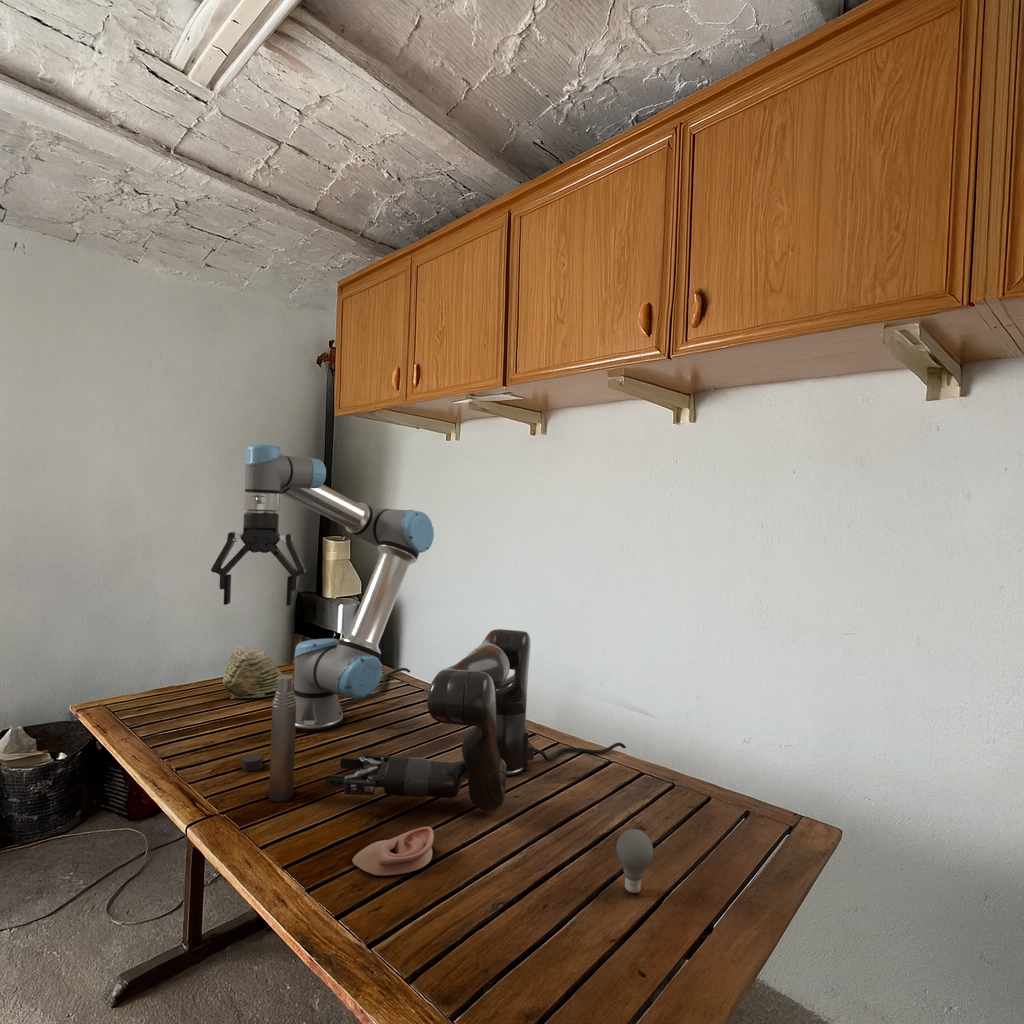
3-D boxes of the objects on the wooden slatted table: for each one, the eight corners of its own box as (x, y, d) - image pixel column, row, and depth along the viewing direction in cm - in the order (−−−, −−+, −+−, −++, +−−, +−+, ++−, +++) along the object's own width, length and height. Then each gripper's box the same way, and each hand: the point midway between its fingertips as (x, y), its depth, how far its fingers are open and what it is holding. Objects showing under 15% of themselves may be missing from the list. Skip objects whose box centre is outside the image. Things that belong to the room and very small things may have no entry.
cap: (238, 770, 144) (238, 760, 144) (248, 762, 149) (248, 753, 149) (256, 772, 144) (256, 762, 144) (265, 764, 148) (266, 754, 148)
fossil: (218, 695, 195) (220, 647, 195) (278, 685, 208) (279, 640, 207) (228, 703, 189) (230, 653, 188) (289, 692, 201) (290, 645, 201)
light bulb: (610, 879, 108) (613, 822, 108) (644, 879, 109) (647, 822, 109) (619, 902, 102) (622, 840, 102) (655, 901, 103) (658, 840, 103)
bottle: (263, 798, 132) (268, 677, 132) (280, 789, 136) (284, 672, 136) (281, 803, 130) (286, 680, 130) (297, 793, 135) (302, 675, 134)
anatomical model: (344, 847, 108) (373, 814, 119) (343, 870, 108) (372, 835, 119) (418, 859, 105) (440, 825, 116) (417, 883, 105) (439, 846, 116)
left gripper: (198, 510, 139) (195, 606, 140) (315, 514, 144) (312, 607, 144) (208, 509, 147) (205, 600, 147) (320, 513, 151) (316, 602, 152)
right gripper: (418, 745, 139) (345, 740, 140) (403, 773, 125) (322, 767, 125) (416, 779, 139) (344, 774, 140) (401, 811, 125) (320, 805, 126)
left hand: (258, 604), depth 146 cm, fingers open, 13 cm apart
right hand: (334, 771), depth 133 cm, fingers open, 8 cm apart
